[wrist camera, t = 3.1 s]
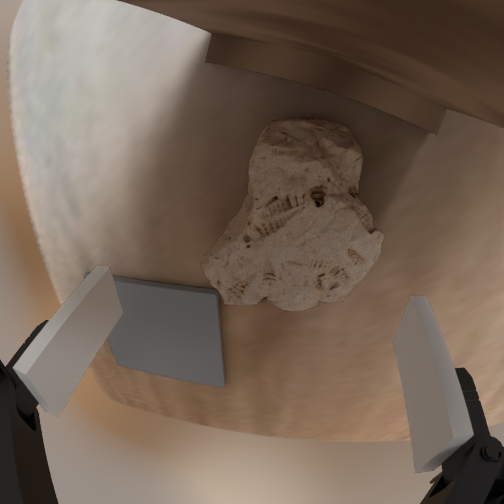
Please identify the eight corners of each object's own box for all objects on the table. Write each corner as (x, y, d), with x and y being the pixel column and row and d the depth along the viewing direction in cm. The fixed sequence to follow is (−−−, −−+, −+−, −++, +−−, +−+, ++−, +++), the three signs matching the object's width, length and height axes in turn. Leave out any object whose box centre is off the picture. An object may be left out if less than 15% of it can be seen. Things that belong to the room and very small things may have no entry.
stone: (208, 247, 22) (185, 292, 18) (285, 91, 16) (279, 95, 11) (320, 301, 23) (321, 351, 18) (416, 170, 17) (448, 201, 12)
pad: (87, 271, 25) (83, 275, 24) (218, 289, 23) (216, 294, 23) (120, 361, 31) (118, 365, 31) (226, 383, 30) (225, 388, 29)
